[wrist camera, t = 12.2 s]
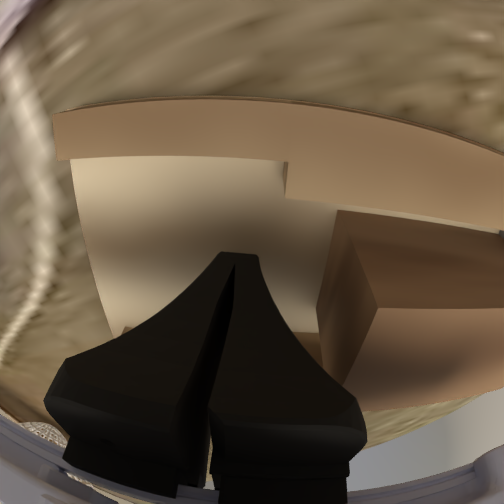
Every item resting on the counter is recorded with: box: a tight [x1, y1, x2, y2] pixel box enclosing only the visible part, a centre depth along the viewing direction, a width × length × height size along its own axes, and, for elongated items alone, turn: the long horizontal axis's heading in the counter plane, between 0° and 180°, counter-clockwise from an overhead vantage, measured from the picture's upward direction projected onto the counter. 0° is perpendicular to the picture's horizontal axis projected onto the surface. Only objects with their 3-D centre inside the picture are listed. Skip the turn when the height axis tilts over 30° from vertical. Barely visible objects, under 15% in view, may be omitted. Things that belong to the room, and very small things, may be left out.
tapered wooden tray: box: [52, 96, 504, 368], centre depth 11 cm, size 12×20×3 cm, turn 87°
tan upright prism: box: [316, 209, 504, 412], centre depth 9 cm, size 4×8×5 cm, turn 87°
